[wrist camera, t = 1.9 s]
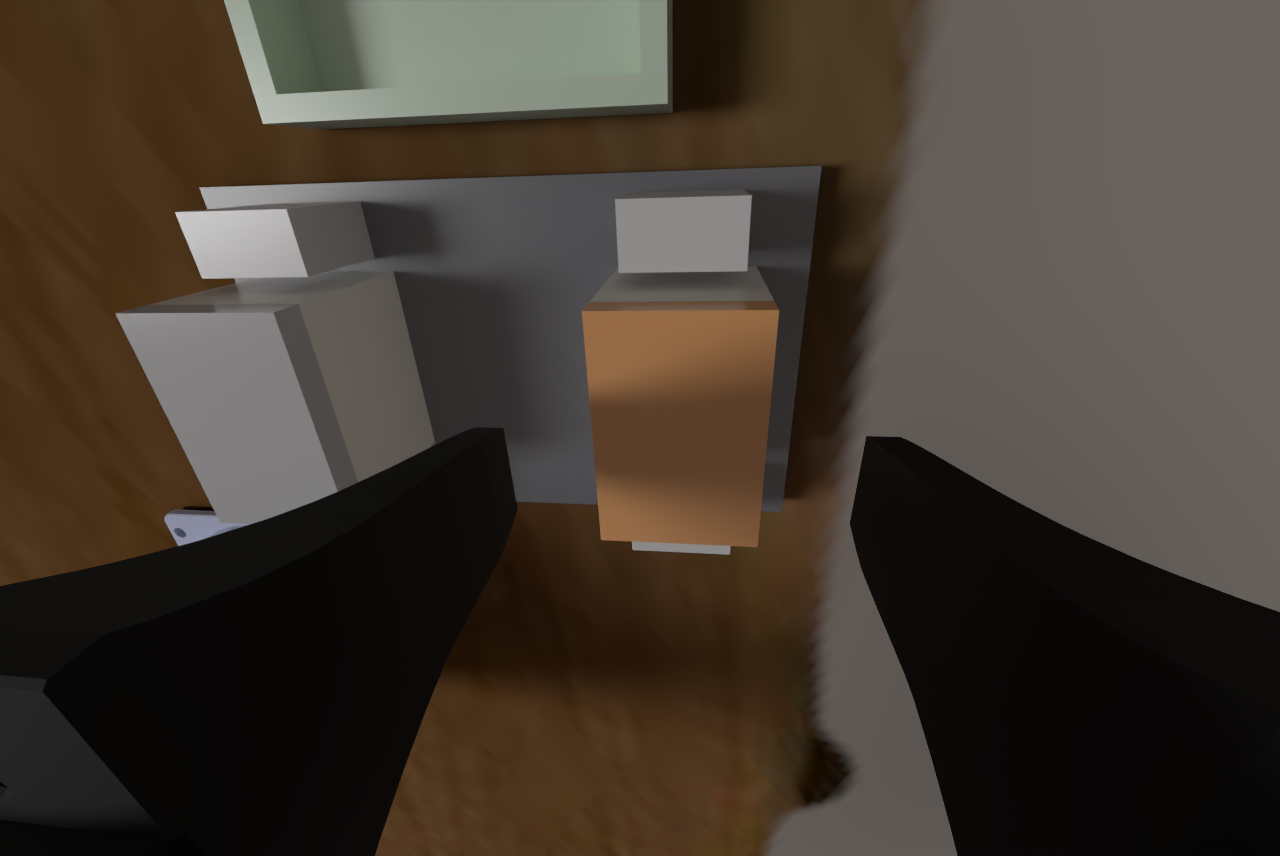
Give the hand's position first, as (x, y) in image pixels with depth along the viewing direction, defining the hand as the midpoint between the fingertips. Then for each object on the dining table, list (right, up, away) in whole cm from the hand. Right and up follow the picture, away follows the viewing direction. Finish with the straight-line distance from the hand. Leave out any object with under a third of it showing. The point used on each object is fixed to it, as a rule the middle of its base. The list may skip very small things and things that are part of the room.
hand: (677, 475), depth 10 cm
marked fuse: (+1, +3, +6) cm, 7 cm away
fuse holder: (-5, +3, +7) cm, 9 cm away
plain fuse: (-10, +3, +7) cm, 13 cm away
